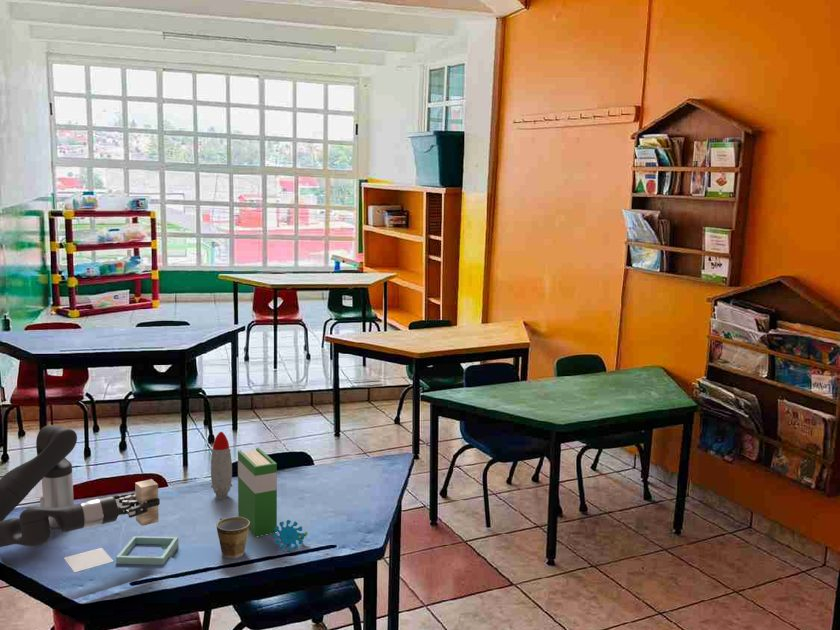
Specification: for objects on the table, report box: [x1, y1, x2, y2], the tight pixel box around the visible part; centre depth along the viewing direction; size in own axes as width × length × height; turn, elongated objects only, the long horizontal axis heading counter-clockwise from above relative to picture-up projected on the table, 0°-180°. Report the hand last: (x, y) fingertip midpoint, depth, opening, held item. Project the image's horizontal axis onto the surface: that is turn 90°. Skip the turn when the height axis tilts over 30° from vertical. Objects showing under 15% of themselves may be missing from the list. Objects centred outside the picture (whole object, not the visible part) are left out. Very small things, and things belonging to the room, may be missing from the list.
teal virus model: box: [272, 519, 309, 552], centre depth 237 cm, size 11×6×10 cm
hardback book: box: [237, 447, 278, 538], centre depth 249 cm, size 18×7×24 cm, turn 31°
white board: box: [63, 547, 114, 573], centre depth 221 cm, size 11×11×2 cm
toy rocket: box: [210, 431, 233, 500], centre depth 272 cm, size 8×8×25 cm
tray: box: [115, 535, 179, 566], centre depth 226 cm, size 14×14×4 cm
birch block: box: [134, 478, 160, 527], centre depth 223 cm, size 5×5×12 cm
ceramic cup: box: [216, 516, 250, 559], centre depth 231 cm, size 13×10×10 cm
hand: (155, 498), depth 225 cm, fingers closed on birch block, 5 cm apart
